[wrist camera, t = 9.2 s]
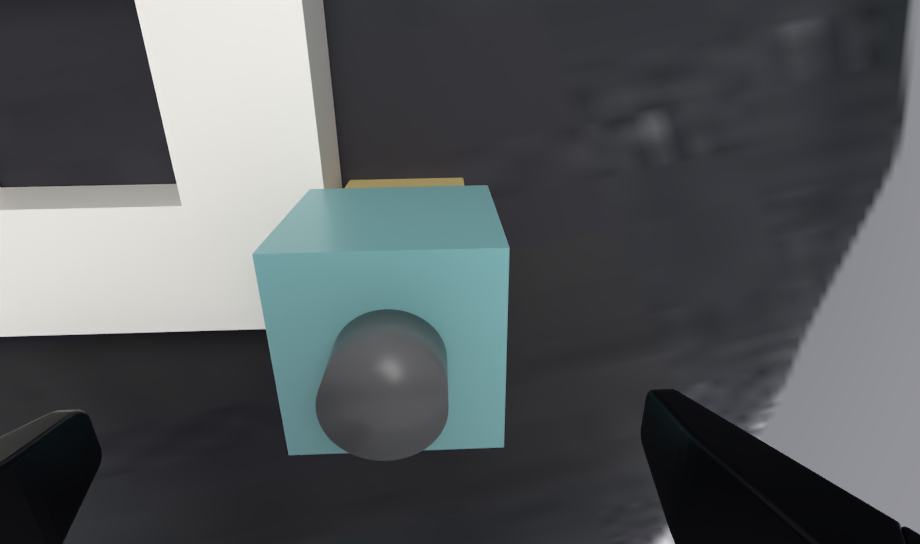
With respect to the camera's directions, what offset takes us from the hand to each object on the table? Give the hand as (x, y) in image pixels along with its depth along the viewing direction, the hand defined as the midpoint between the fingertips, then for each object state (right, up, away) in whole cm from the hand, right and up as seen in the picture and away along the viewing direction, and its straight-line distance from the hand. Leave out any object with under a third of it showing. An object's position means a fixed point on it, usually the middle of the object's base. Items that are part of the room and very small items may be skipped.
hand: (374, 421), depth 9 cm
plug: (0, +4, +8) cm, 9 cm away
